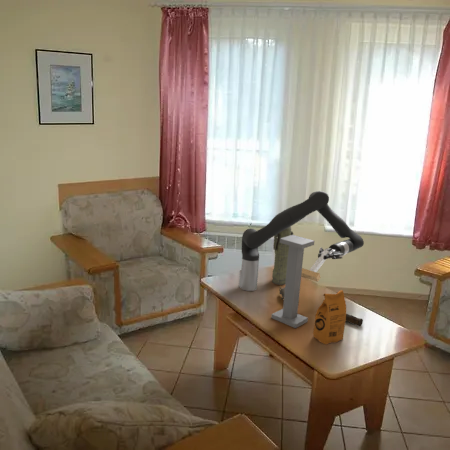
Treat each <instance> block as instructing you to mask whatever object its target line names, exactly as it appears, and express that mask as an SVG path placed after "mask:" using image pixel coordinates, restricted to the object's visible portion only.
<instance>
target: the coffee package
mask: <svg viewBox="0 0 450 450" xmlns="http://www.w3.org/2000/svg"><path fill="white" fill-rule="evenodd" d="M323 297H324V299H323V301H322V303H321V304H320V306H319V307H318V308H317V310H316V313H315V315H314V316H315V317H314V325H313V332H312V334H313V337H314V339H316V340H317V341H319V342H320V343H321V344H323V345H328V344H330V343H333V344H335V343H338V342H340V341H342V340H343V339H344V332H345V327H346V322H347V321H346V314H347V304H346V302H347V301H346V299H345V293H344V290H343V289H339V291H337V293H324V294H323Z"/></svg>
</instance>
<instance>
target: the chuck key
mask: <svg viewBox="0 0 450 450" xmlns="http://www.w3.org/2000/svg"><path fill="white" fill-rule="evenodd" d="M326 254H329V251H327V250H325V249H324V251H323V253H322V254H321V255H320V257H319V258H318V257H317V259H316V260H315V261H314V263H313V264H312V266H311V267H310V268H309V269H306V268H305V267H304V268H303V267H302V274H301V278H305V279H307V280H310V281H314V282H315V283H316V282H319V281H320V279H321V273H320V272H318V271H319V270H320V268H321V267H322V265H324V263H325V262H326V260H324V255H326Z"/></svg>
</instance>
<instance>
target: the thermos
mask: <svg viewBox="0 0 450 450" xmlns="http://www.w3.org/2000/svg"><path fill="white" fill-rule="evenodd" d="M290 235H294V232H293V231H292V226H290V227H289V228H287V229H285V230H283V231H282V232H280V233H278V234H277V235H275V236H273V246H272V247H273V250H274V264H273V269H272V276H271V277H272V281H271V282H272V283H273V284H275V285H277V286H278V285H279V286H282V285H284V286H285V283H286V272H287V261H288V251H289V245H286V244H283V243H280V238H283V237H287V236H290Z"/></svg>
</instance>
